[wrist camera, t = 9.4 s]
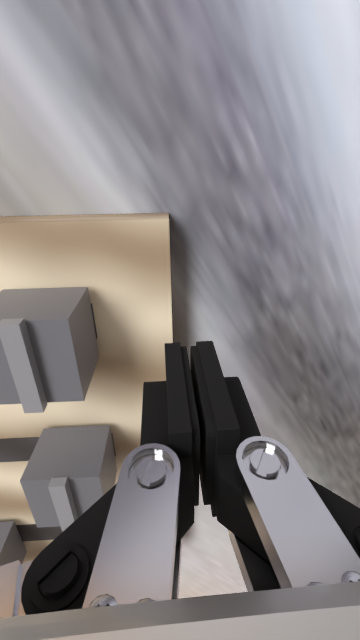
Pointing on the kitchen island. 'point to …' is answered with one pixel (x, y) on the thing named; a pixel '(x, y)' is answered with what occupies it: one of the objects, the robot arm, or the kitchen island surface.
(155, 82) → the kitchen island surface
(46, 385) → the switch tab
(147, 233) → the switch panel
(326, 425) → the kitchen island surface
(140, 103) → the kitchen island surface
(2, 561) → the switch tab
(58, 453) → the switch tab
